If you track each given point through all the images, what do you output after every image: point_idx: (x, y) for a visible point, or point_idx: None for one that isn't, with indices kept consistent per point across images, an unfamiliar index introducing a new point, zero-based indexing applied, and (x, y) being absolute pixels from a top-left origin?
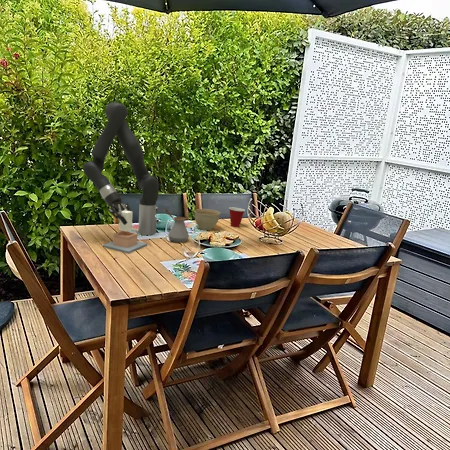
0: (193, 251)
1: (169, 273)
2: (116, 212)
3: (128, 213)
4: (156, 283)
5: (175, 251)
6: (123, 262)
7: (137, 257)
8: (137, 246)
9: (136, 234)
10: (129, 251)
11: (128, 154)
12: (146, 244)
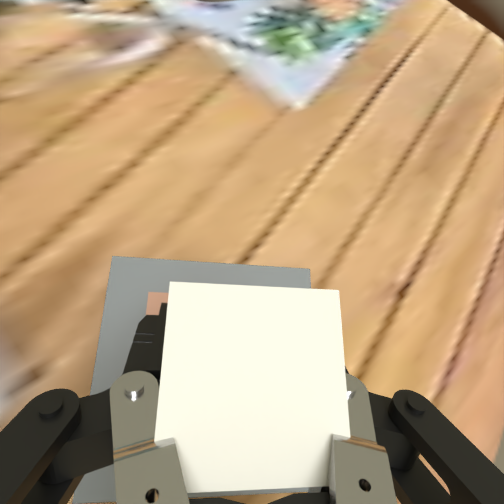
0: (74, 32)
1: (369, 50)
2: (473, 466)
3: (297, 291)
4: (456, 60)
5: (125, 98)
6: (407, 230)
7: (317, 211)
8: (206, 274)
9: (165, 293)
10: (302, 269)
11: None
12: (123, 258)
